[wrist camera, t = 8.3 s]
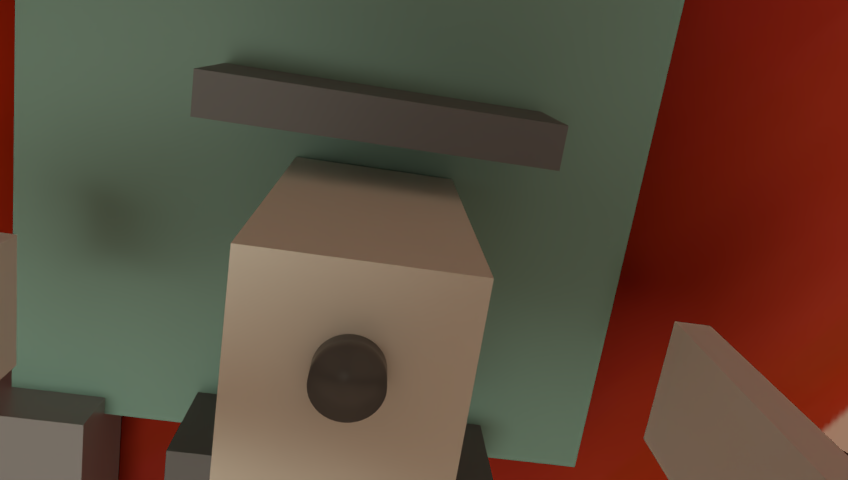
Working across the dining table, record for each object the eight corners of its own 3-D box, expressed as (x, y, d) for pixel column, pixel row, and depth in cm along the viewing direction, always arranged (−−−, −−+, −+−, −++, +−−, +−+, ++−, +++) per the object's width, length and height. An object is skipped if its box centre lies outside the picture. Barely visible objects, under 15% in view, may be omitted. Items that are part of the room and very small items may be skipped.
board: (53, -535, 16) (-70, -744, 12) (751, -384, 17) (870, -522, 13) (36, 397, 22) (-51, 486, 18) (559, 456, 23) (598, 553, 19)
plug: (296, 156, 19) (221, 254, 10) (451, 179, 19) (499, 291, 11) (270, 391, 20) (188, 636, 12) (413, 408, 21) (429, 657, 12)
